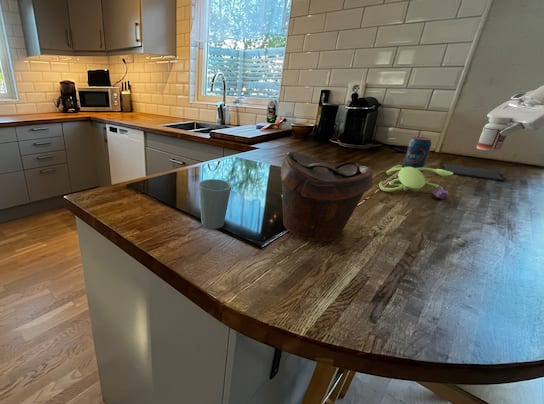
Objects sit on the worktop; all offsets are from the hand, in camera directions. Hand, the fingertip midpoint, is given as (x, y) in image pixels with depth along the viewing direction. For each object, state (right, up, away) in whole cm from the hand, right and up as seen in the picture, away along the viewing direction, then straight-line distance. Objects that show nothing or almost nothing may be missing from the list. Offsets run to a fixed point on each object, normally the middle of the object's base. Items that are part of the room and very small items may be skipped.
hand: (492, 132), depth 102 cm
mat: (+7, -12, +15) cm, 20 cm away
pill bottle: (+1, -6, +2) cm, 6 cm away
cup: (-99, -30, -28) cm, 107 cm away
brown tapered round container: (-75, -31, -30) cm, 87 cm away
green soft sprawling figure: (-28, -19, -1) cm, 34 cm away
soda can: (-12, -10, +20) cm, 25 cm away
